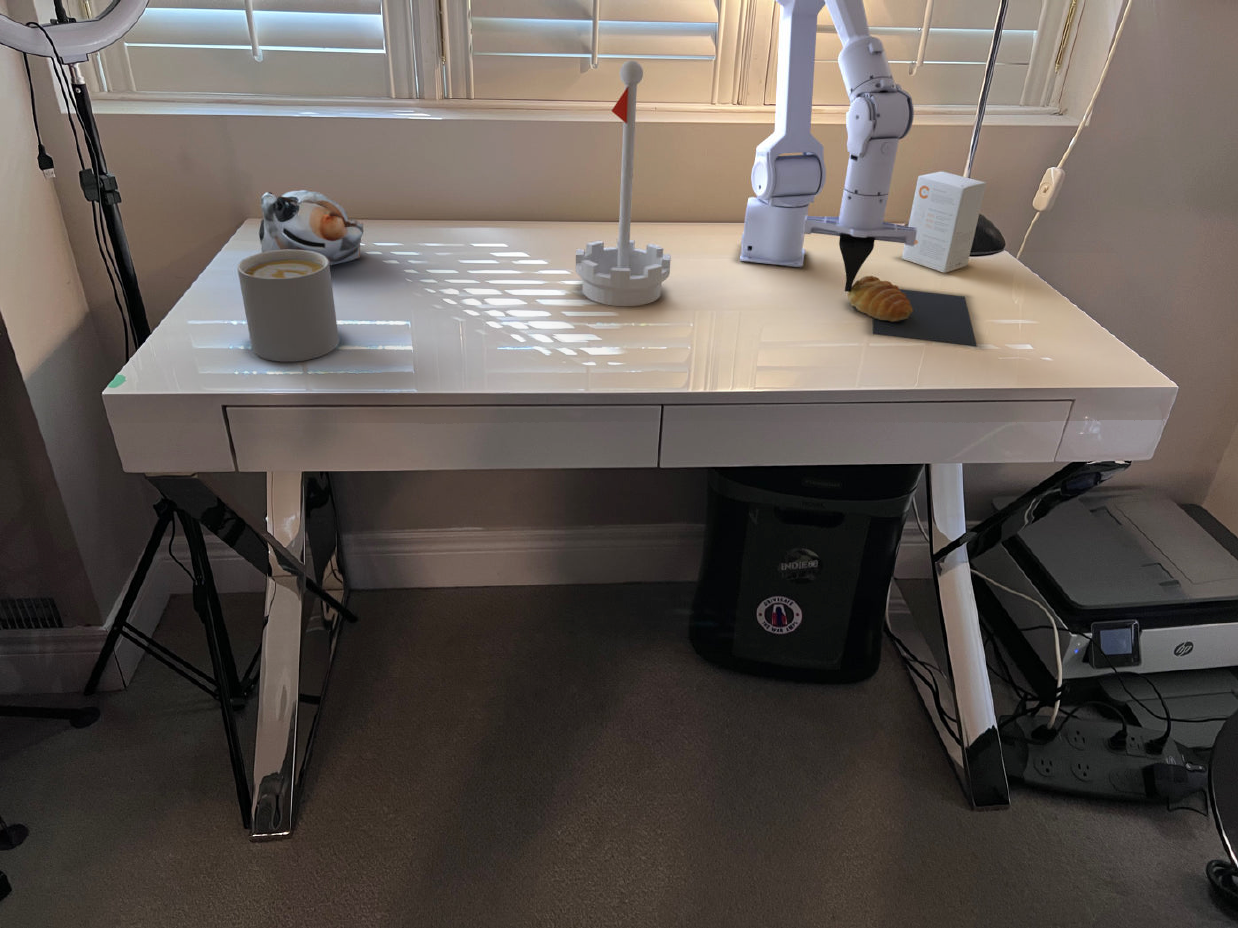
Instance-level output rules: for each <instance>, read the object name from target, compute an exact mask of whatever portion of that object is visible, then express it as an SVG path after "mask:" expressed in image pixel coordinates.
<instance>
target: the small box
mask: <svg viewBox="0 0 1238 928" xmlns="http://www.w3.org/2000/svg"><path fill="white" fill-rule="evenodd" d="M986 188H987V182H986V181H983V180H977V179H974V178H969V177H966V176H963V175H958V174H954V173H950V172H946V171H941V170H940V171H936V172H931V173H927V174H921V175H918V176H917V181H916V187H915V192H914V197H913V201H912V206H911V211H910V217H909V220H908V225H907V226H908V227H916V230H917V233H916V238H915V243H914V246H910V245H906V244H905V243H904V245H903V251H902V256H901V260H905V261H908V262H911V263H914V264H917V265H920V266H923V267H926V268H929V269H932V270H934V271H937V272H940V273H943V274H947V273H949V272H952V271H955V270H958V269H961V268H964V267H966V266H968V263H969V259H970V256H971V251H972V247H973V243H974V238H975V234H976V231H977V230H976V228H977V226H978V221H979V217H980V213H981V208H982V204H983V199H984V195H985V192H986Z"/></svg>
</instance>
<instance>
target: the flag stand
mask: <svg viewBox="0 0 1238 928" xmlns="http://www.w3.org/2000/svg"><path fill="white" fill-rule="evenodd" d="M619 78H620V80H621V82H622V83H623V84H624V91H623V93H622V94H621V96H620V97H619V98H618V100H617V102H616V103H615V105H614V106H613V107H612V109H611V112H612V113H613V114H614V115H615V116H616V117H618V118H619V119H620V120H621V121H622V122H623V123H622V147H621V166H620V167H621V171H620V173H621V174H620V193H619V196H620V197H619V221H618V238H617V239H616V246H606V247H605V246H604V244H605V242H603V241H602V240H595V241H594V240H593V241H591V242H587V243H586V244H585V249H583V248H576V251H575V273H576V275H578V277H580V278H581V279H582V293H583V295H584V296H585V297H586V298H587V299H590V300H591V301H593V302H595V303H599V304H603V305H606V306H607V305H608V306H613V307H614V306H615V307H636V306H643V305H648V304H650V303H654V302H655V301H657V300H658V299H659V298H660V296H661V295H662V283H663V282H665V281H666V280H667V279H668V278H669V277H670V274H671V273H670V272H671V262H672V261H671V260H672V256H671V254H670V253H664V247H662V246H660V245H657V244H654V243H649V244H646V247H645V248H646V249H642V248H636V246H635V243H636V242H635V241H636V240H635V239H631V222H632V221H631V220H632V199H633V198H632V197H633V179H634V177H633V175H634V156H635V133H636V113H637V112H636V111H637V93H638V91H637V90H638V84H640V82H642V80H643V78H644V70H643V67H642V65H641V64H640V63H639V62H638V61H636V60H627V61H625V62H624V63H623V64H622V65H621V67H620V69H619Z"/></svg>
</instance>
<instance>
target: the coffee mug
mask: <svg viewBox="0 0 1238 928" xmlns="http://www.w3.org/2000/svg"><path fill="white" fill-rule="evenodd" d="M330 266H331V265H330ZM330 266H329V261H328V259H327V258H326V257H325V256H324V255H322V254H320V253H316V252H313V251H306V250H275V251H268V252H263V253H262V252H259V253H256V254H253V255H250V256H247V257H246V258H245V257H244V258H243V259H242V260H241V261H240V262H239V263H238V264H237V275H238V280H239V284H240V285H239V286H240V290H241V296H242V302H243V307H244V313H245V319H246V324H247V329H248V334H249V340H250V345H251V351H252V352H253V353H254V355H256V356H257V357H259V358H261V359H263V360H267V361H273V362H279V363H281V362H282V363H283V362H284V363H291V362H293V363H294V362H305V361H308V360H314V359H317V358H321V357H322V356H325V355H328V354H329V353H331V352H333V351H334V350H335V349H336V348H337V347H338V345H339V343H340V338H339V330H338V322H337V314H336V306H335V299H334V291H333V290H334V289H333V283H332V275H331V268H330Z"/></svg>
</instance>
